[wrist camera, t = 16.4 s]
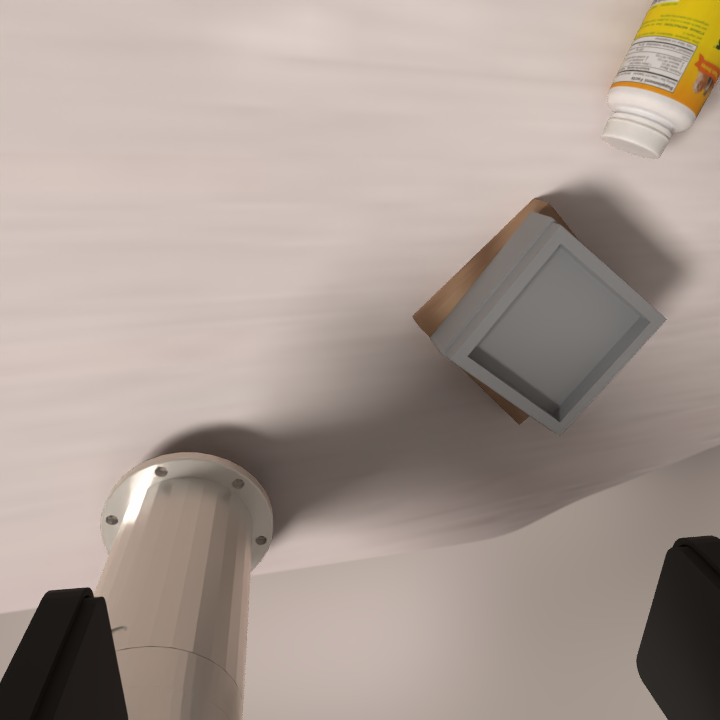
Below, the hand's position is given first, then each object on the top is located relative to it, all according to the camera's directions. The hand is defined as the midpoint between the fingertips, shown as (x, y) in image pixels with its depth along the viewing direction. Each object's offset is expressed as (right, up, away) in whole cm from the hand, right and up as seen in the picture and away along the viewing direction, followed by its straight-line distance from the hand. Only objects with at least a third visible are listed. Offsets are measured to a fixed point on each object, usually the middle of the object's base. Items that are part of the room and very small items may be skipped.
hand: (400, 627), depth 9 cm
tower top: (+12, +7, +32) cm, 35 cm away
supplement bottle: (+21, +27, +24) cm, 42 cm away
